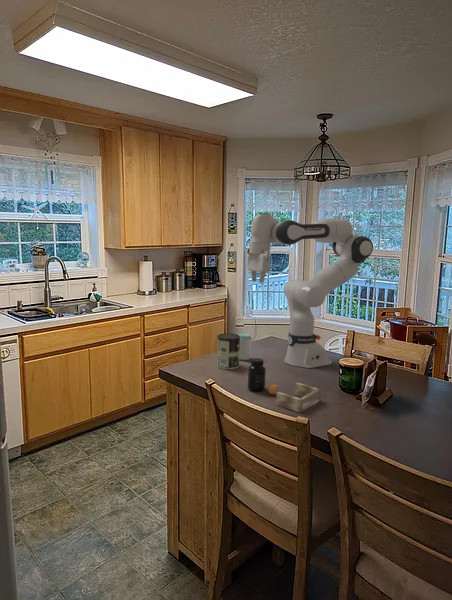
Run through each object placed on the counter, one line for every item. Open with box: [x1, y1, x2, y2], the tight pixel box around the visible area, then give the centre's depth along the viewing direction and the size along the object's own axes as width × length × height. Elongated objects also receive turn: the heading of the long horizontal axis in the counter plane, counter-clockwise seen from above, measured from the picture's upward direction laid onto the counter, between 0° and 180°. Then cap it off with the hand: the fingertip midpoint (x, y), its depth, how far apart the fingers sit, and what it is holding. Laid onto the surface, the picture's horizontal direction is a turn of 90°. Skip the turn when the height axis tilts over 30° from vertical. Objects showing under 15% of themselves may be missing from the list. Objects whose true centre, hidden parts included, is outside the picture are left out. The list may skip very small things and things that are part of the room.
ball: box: [267, 383, 280, 396], centre depth 164 cm, size 4×4×4 cm
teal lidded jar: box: [237, 332, 252, 361], centre depth 207 cm, size 7×7×12 cm
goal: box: [275, 382, 322, 413], centre depth 157 cm, size 10×14×4 cm
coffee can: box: [216, 332, 240, 370], centre depth 195 cm, size 10×10×14 cm
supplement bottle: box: [247, 357, 267, 393], centre depth 169 cm, size 7×7×12 cm
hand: (257, 282), depth 188 cm, fingers open, 8 cm apart
